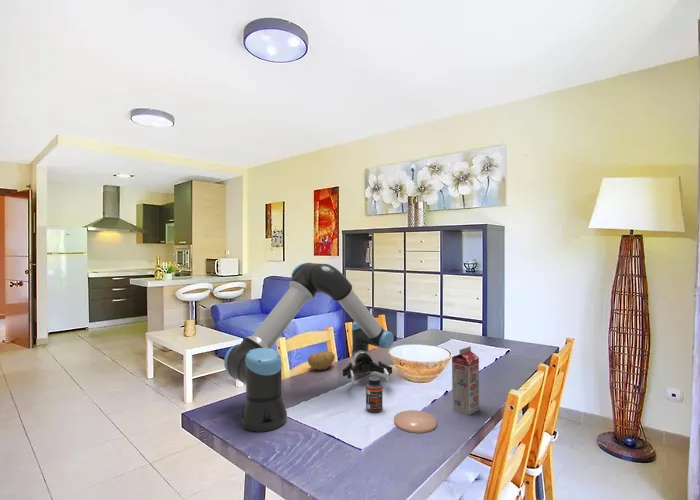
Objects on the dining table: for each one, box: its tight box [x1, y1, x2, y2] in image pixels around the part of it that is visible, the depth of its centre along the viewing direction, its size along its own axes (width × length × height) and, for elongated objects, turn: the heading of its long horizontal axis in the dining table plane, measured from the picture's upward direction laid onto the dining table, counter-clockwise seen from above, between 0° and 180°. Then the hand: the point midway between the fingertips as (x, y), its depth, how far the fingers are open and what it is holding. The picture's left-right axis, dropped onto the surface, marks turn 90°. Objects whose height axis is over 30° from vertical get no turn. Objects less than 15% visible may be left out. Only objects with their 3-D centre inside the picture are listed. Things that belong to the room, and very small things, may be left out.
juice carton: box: [451, 346, 480, 416], centre depth 135 cm, size 7×7×22 cm
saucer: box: [393, 409, 438, 434], centre depth 126 cm, size 14×14×1 cm
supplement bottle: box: [365, 376, 384, 413], centre depth 136 cm, size 6×6×11 cm
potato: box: [307, 351, 336, 371], centre depth 181 cm, size 10×14×8 cm
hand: (370, 378), depth 146 cm, fingers open, 13 cm apart
